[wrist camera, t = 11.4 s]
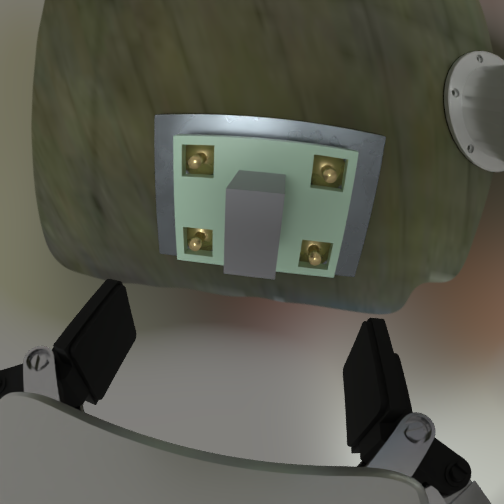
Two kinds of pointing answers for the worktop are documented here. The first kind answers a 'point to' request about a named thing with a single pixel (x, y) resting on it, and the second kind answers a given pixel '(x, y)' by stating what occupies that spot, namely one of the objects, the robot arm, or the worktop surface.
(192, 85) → the worktop surface
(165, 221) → the plate
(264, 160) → the board
